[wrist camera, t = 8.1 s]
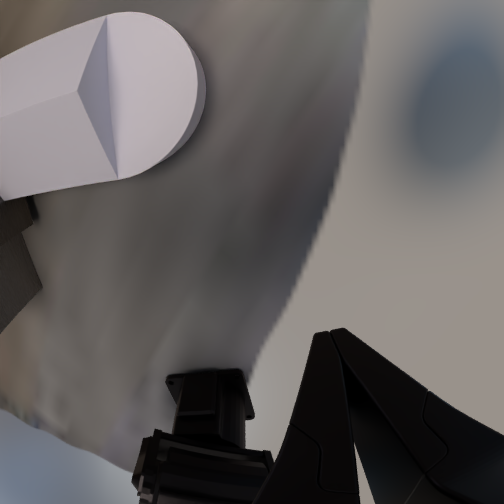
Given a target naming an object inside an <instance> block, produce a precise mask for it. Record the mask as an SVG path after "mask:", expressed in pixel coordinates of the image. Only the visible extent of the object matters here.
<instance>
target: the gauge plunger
mask: <svg viewBox="0 0 504 504" xmlns="http://www.w3.org/2000/svg"><path fill="white" fill-rule="evenodd" d="M32 224H33V221H32V218H31V214H30V211H29V208H28V205H27V201H26V198H25V196H24V197H20V198H15V199H11V200H6V201H4V200H3V199H2V198H1V196H0V246H1V245H3V244H4V243H6V242H7V241H9V240H10V239H11V238H13V237H14V236H16V235H17V234H19V233H20V232H22V231H23V230H25V229H26V228H28V227H29V226H31V225H32Z"/></svg>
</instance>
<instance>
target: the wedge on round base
mask: <svg viewBox="0 0 504 504" xmlns="http://www.w3.org/2000/svg"><path fill="white" fill-rule="evenodd" d="M205 100H206V80H205V75H204V70H203V68H202V65H201V63H200V60H199V59H198V57H197V55H196V53H195V52H194V51H193V50H192V48H191V47H190V46H189V45H188V43H187V42H186V41H185V40H184V39H183V37H182V36H181V35H180V34H179V33H178V32H177V31H176V30H175V29H174V28H173V27H172V26H171V25H169V24H168V23H166V22H164V21H163V20H161V19H159V18H157V17H154V16H152V15H148V14H144V13H139V12H120V13H114V14H109V15H106V16H102V17H99V18H96V19H93V20H90V21H87V22H84V23H81V24H78V25H75V26H72V27H70V28H67V29H64V30H62V31H59V32H57V33H54V34H52V35H49V36H47V37H44V38H42V39H40V40H38V41H35V42H33V43H31V44H29V45H27V46H24V47H22V48H20V49H18V50H16V51H14V52H12V53H10V54H8V55H6V56H4V57H3V58H1V59H0V196H1V198H2V199H3V200H4V201H6V200H11V199H15V198H20V197H24V196H29V195H34V194H39V193H44V192H49V191H54V190H59V189H64V188H70V187H76V186H81V185H87V184H94V183H100V182H106V181H113V180H119V179H124V178H129V177H132V176H134V175H137V174H140V173H142V172H144V171H145V170H147V169H149V168H151V167H153V166H155V165H156V164H158V163H160V162H162V161H163V160H165V159H167V158H168V157H170V156H171V155H173V154H174V153H175V152H176V151H178V150H179V149H180V148H181V147H182V146H183V145H184V144H185V143H186V142H187V140H188V139H189V138H190V136H191V135H192V134H193V132H194V131H195V129H196V127H197V125H198V123H199V121H200V118H201V116H202V113H203V110H204V105H205Z"/></svg>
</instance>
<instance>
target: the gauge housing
mask: <svg viewBox="0 0 504 504" xmlns="http://www.w3.org/2000/svg"><path fill="white" fill-rule="evenodd" d="M41 288H42V285H41V282H40V280H39V278H38V275H37V273H36V271H35V268H34V266H33V263H32V261H31V258H30V256H29V253H28V250H27V248H26V245H25V242H24V239H23V237H22V234H21V232H20V233H19V234H17V235H16V236H14V237H13V238H11V239H10V240H9V241H7V242H6V243H4V244H3V245H1V246H0V334H1V332H2V331H3V330H4V329H5V328H6V327H7V325H8V324H9V323H10V322H11V321H12V320H13V319H14V318H15V316H16V315H17V314H18V313H19V312H20V311H21V310H22V309H23V308H24V306H25V305H26V304H27V303H28V302H29V301H30V300H31V299H32V298H33V297H34V296H35V295H36V294H37V293H38V291H39V290H40V289H41Z"/></svg>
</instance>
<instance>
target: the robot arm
mask: <svg viewBox="0 0 504 504" xmlns="http://www.w3.org/2000/svg"><path fill="white" fill-rule="evenodd" d="M235 375H238V376H235ZM172 381H173V382H172ZM165 383H166V385H167V387H168V389H169V391H170V393H171V395H172V397H173V399H174V401H175V402H176V404H177V408H176V413H175V418H174V424H173V429H172V434H169V433H165V432H162V430H158V429H155V430H154V434H153V437H152V436H150V437H147V438H143V441H142V445H141V449H140V453H139V457H138V460H137V463H136V466H135V470H134V473H133V476H132V484H133V485H134V487H135V488H136V489H137V491H138V493H137V496H140V500H139V504H360V496H359V484H358V475H357V465H356V456H355V448H354V443H355V446H356V449H357V452H358V454H359V457H360V460H361V463H362V466H363V469H364V472H365V475H366V478H367V480H368V484H369V487H370V490H371V493H372V495H373V499H374V502H375V504H504V435H502V434H500V433H499V432H497V431H495V430H493V429H491V428H489V427H487V426H485V425H484V424H482V423H480V422H478V421H476V420H475V419H473V418H471V417H469V416H467V415H466V414H464V413H462V412H460V411H459V410H457V409H455V408H454V407H452V406H451V405H450V404H448V403H447V402H445V401H443V400H442V399H441V398H439V397H438V396H437V395H435V394H434V393H433V392H431V391H428V389H427V388H425V387H424V386H423V385H421V384H420V383H419V382H417V381H416V380H415V379H413V378H412V377H410V376H409V375H408V374H406V373H405V372H404V371H402V370H400V368H398V367H397V366H395V365H394V364H393V363H391V362H390V361H388V360H387V359H386V358H385V357H383V356H382V355H380V354H379V353H378V352H376V351H375V350H374V349H372V348H371V347H370V346H368V345H367V344H366V343H364V342H363V341H362V340H360V339H359V338H358V337H356V336H355V335H353V334H352V333H351V332H349V331H348V330H347V329H345V328H339V329H334V330H331V331H330V332H328V331H323V332H318V333H315V334H314V336H313V340H312V344H311V347H310V351H309V356H308V359H307V363H306V367H305V370H304V374H303V378H302V381H301V385H300V389H299V392H298V396H297V399H296V402H295V406H294V409H293V413H292V416H291V419H290V423H289V424H290V425H289V426H288V428H287V432H286V435H285V438H284V441H283V443H282V446H281V449H280V451H279V454H278V456H277V458H276V460H275V462H274V461H273V458H272V454H271V452H270V451H266V450H263V451H258V450H251V449H245V420H252V419H254V417H255V413H254V409H253V406H252V402H251V399H250V395H249V392H248V389H247V385H246V382H245V378H244V374H243V372H242V371H241V370H239V369H234V370H225V371H216V372H206V373H195V374H183V375H170V376H167V377H166V381H165Z"/></svg>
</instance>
